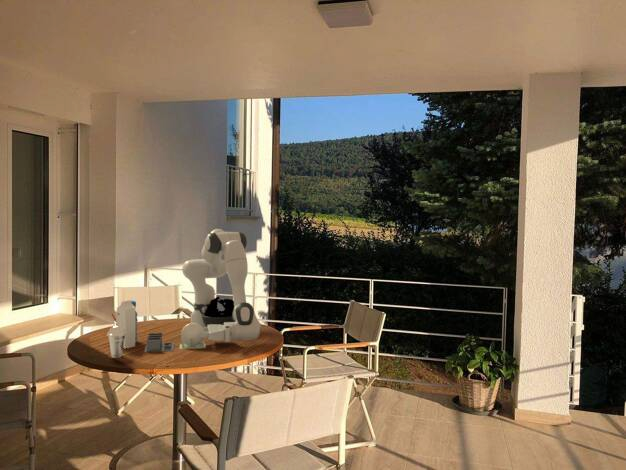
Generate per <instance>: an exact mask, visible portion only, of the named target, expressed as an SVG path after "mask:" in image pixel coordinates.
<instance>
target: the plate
mask: <svg viewBox="0 0 626 470" xmlns="http://www.w3.org/2000/svg"><path fill="white" fill-rule="evenodd" d="M199 332H202V333H206V332H204V329H203V327H202V326H201V325H199V324H197V323H191V322H190V323H187V324H186V325H184V326H183V328H182V329H181V331H180V339H181V340H182V339H184V344H186V345H187V346H188V343H189V339H191V347H194V346H195V344H201V343H202V342H204V340H205V337H199V336H198V333H199Z"/></svg>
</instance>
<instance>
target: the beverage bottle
mask: <svg viewBox="0 0 626 470" xmlns="http://www.w3.org/2000/svg"><path fill="white" fill-rule="evenodd" d="M131 303H132V304H133V305H134V306H135V343H136V342H137V341H138V322H139V321H138V318H137V317H138V312H137V310H136V307H137V302H136V300H131Z"/></svg>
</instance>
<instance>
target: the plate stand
mask: <svg viewBox="0 0 626 470" xmlns="http://www.w3.org/2000/svg"><path fill="white" fill-rule="evenodd" d="M206 347H207V346H206V343H204V341H202V343H201V344H195V346H194V347H191V339H189V343H188V346H187V345H186V344H184V339H181V343H180V344H179V350H185V349H186V350H187V349H188V350H189V349H191V350H192V349H206Z"/></svg>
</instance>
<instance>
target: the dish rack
mask: <svg viewBox="0 0 626 470" xmlns="http://www.w3.org/2000/svg"><path fill="white" fill-rule="evenodd" d="M162 341H163V332H150V333H148V335H147V338H146V344H145V347H144V351H143V353H155V352H156V353H157V352H158V353H159V352H163V353H164V352H174V351H175V344H176V343H175V342H162Z"/></svg>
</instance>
